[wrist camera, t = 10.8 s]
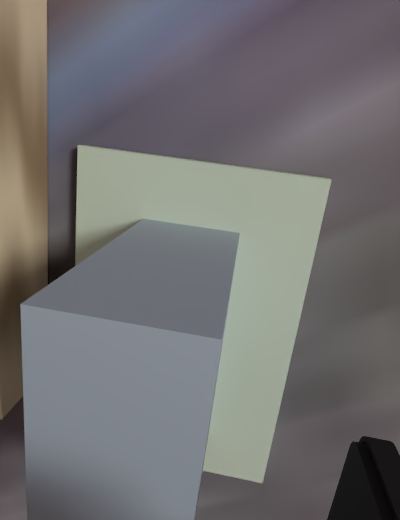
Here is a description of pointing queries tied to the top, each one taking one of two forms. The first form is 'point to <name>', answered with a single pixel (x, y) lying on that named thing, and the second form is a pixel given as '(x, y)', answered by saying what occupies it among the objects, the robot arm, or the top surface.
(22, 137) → the tray
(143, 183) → the mat
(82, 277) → the grey rectangular block
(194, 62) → the top surface
